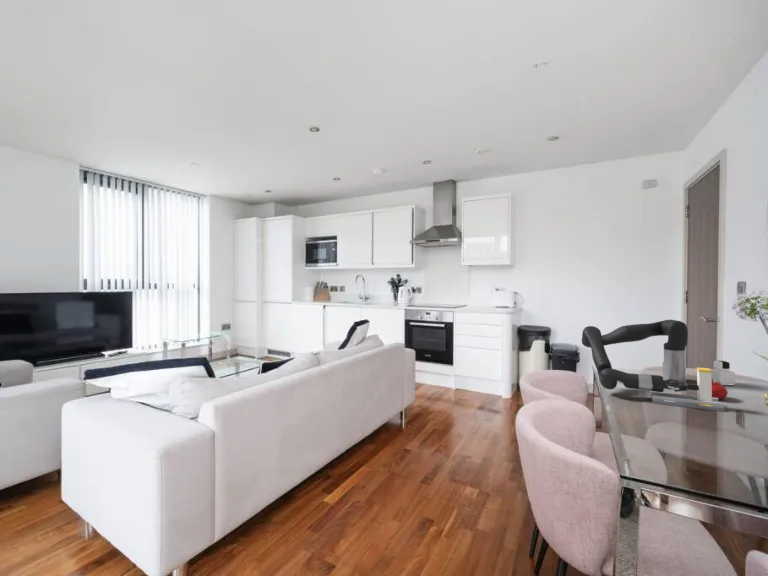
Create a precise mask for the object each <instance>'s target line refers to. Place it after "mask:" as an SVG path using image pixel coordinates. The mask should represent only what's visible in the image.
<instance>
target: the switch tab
mask: <svg viewBox="0 0 768 576" xmlns="http://www.w3.org/2000/svg"><path fill="white" fill-rule="evenodd" d="M710 369H711V368H709V367H696V385H698V386H699V390H696V391H697V393H696V394H697V395H696V396H697V400H703V401H712V378H711V373H712V370H710ZM712 402H713V401H712Z"/></svg>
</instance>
